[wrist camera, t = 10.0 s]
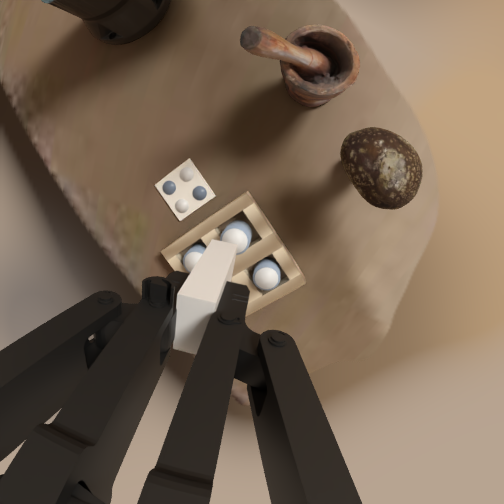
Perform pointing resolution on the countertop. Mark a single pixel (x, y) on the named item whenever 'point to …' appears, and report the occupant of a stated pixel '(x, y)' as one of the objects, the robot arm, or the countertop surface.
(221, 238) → the button
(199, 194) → the card
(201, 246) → the button
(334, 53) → the mortar and pestle
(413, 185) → the mushroom
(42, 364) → the robot arm
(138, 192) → the countertop surface
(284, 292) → the wooden compartment tray
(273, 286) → the button
